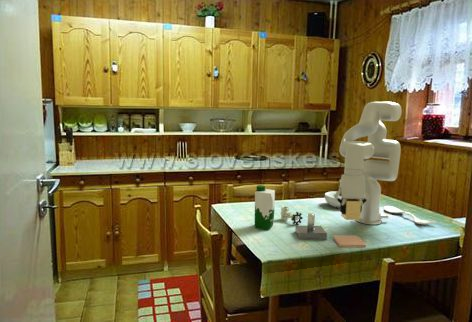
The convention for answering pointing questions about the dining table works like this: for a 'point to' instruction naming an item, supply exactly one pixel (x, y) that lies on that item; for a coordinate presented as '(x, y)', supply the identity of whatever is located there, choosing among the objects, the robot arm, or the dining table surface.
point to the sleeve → (352, 209)
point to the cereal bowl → (332, 199)
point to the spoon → (397, 211)
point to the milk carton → (264, 208)
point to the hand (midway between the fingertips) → (350, 213)
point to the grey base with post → (311, 230)
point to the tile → (349, 241)
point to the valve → (290, 215)
